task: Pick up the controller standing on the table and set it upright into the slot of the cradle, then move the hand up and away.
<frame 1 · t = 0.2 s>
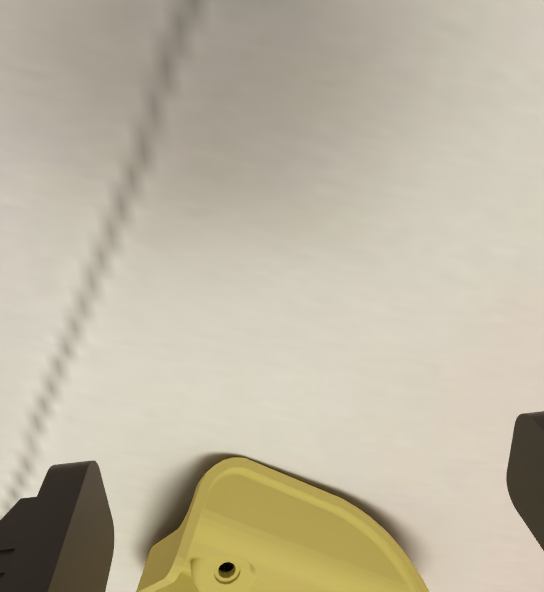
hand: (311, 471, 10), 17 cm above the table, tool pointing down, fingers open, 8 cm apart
plastic component: (288, 546, 37), on the table
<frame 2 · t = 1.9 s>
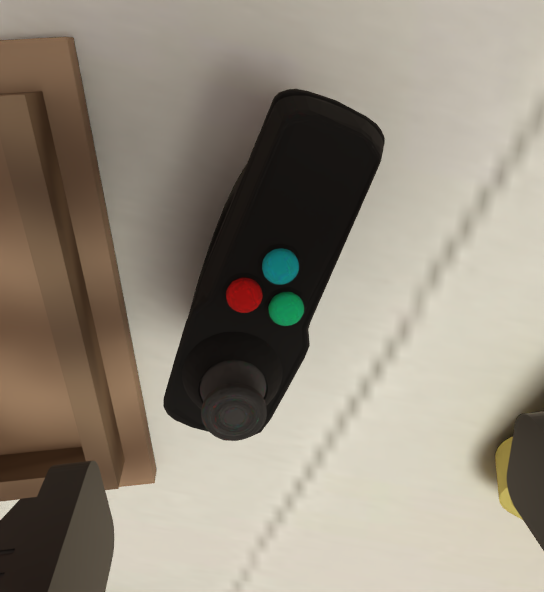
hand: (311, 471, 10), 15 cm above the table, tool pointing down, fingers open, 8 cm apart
controller: (253, 222, 24), on the table
cradle: (4, 304, 24), on the table
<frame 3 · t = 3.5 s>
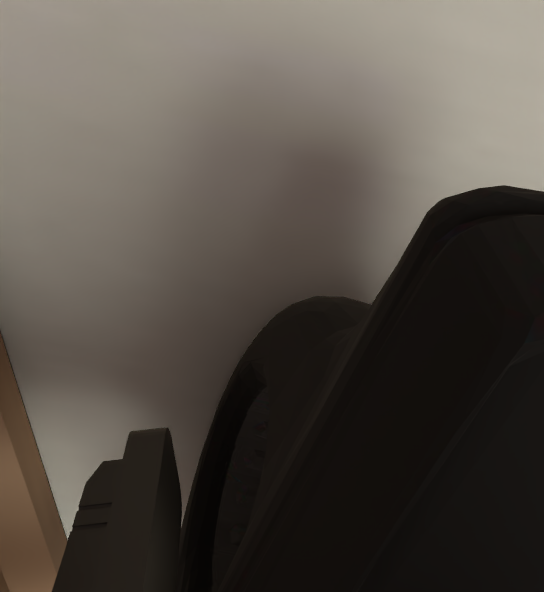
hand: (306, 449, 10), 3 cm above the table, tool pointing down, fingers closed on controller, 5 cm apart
controller: (291, 373, 13), on the table, touching gripper
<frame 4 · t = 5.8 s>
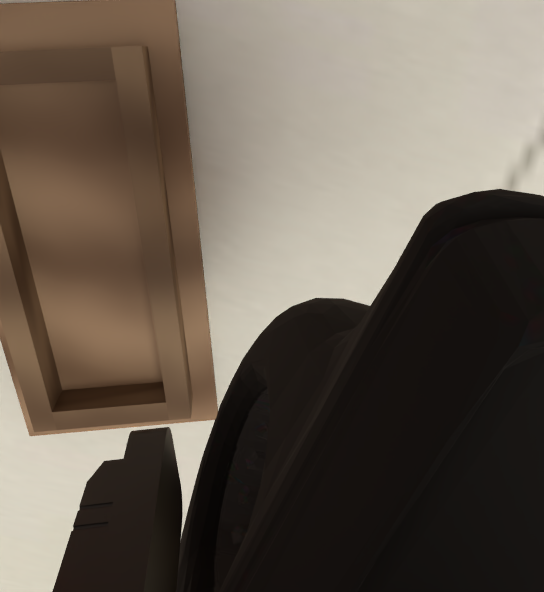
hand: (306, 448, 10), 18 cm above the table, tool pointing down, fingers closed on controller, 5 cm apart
controller: (292, 374, 13), point 15 cm above the table, touching gripper
cradle: (93, 246, 27), on the table
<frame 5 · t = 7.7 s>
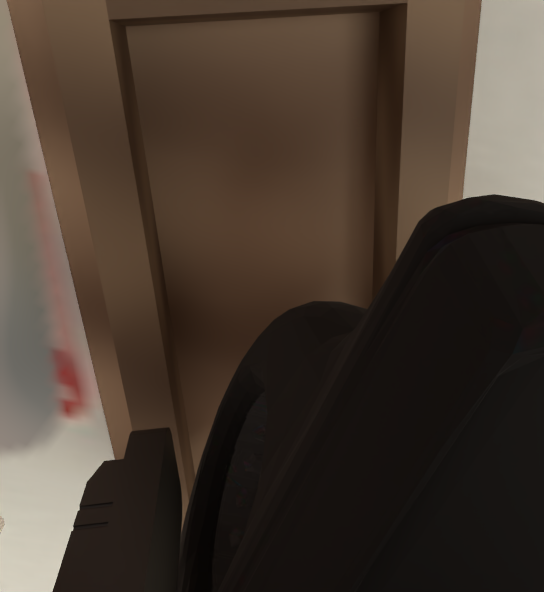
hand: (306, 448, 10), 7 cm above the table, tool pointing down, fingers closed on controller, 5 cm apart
controller: (291, 376, 13), point 4 cm above the table, touching gripper
cradle: (270, 306, 16), on the table
when the fingers open (5 cm above the table, at t = 8.4 s): controller drops 1 cm, resting on cradle.
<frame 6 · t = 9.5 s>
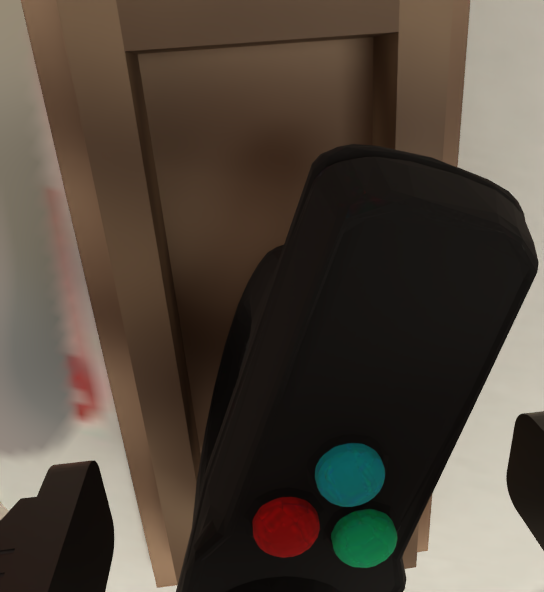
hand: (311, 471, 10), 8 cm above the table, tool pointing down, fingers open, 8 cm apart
controller: (281, 319, 16), point 1 cm above the table, touching cradle
cradle: (274, 312, 17), on the table
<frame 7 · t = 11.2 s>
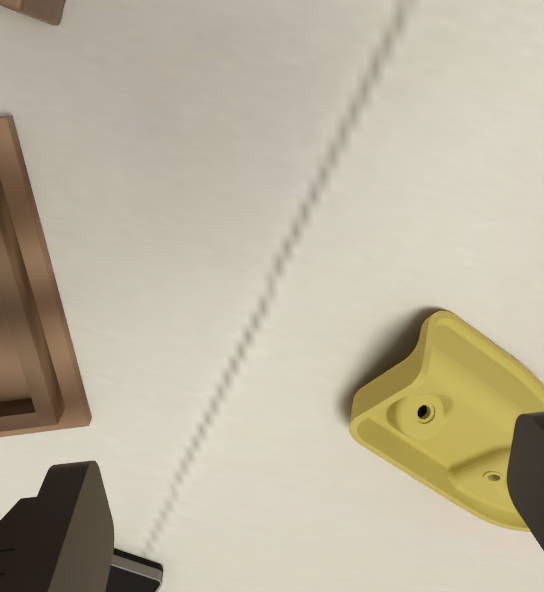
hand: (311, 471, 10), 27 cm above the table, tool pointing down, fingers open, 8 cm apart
external hard drive: (92, 566, 46), on the table
plastic component: (456, 413, 43), on the table
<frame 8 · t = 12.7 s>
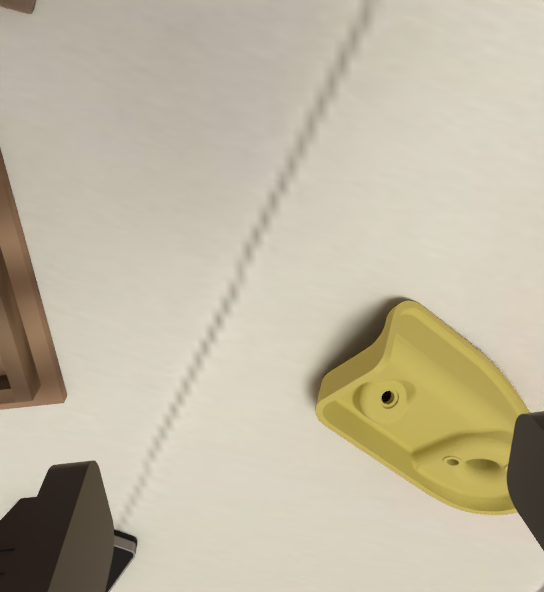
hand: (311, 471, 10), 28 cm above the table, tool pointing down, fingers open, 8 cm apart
external hard drive: (69, 537, 48), on the table
plastic component: (421, 400, 45), on the table
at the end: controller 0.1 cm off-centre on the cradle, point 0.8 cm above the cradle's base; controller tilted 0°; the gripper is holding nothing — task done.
